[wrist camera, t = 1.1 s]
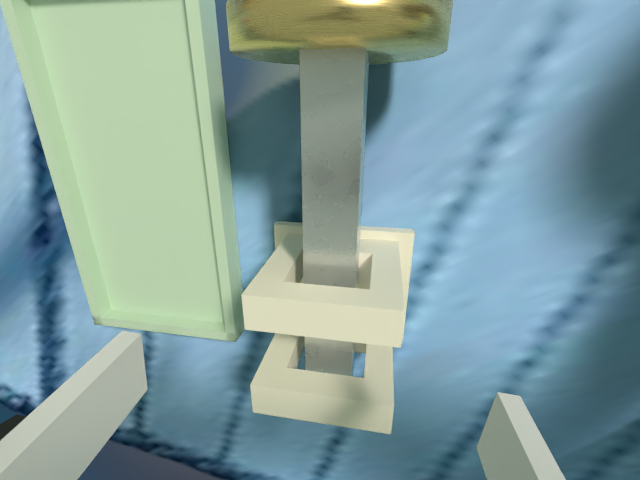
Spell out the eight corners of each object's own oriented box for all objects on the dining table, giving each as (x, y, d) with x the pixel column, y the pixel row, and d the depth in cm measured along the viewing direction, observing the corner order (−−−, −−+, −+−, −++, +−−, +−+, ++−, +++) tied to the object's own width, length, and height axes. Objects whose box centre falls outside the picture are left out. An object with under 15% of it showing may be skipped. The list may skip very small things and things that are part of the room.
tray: (211, -35, 24) (193, -49, 22) (245, 326, 36) (236, 341, 33) (23, -22, 27) (-11, -33, 25) (112, 311, 38) (94, 324, 36)
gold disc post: (266, 4, 24) (170, -77, 14) (439, -4, 23) (490, -107, 12) (282, 326, 35) (234, 428, 24) (401, 340, 33) (409, 458, 22)
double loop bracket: (277, 220, 31) (220, 281, 20) (413, 229, 29) (429, 301, 18) (282, 322, 35) (237, 417, 24) (401, 336, 33) (409, 445, 22)
